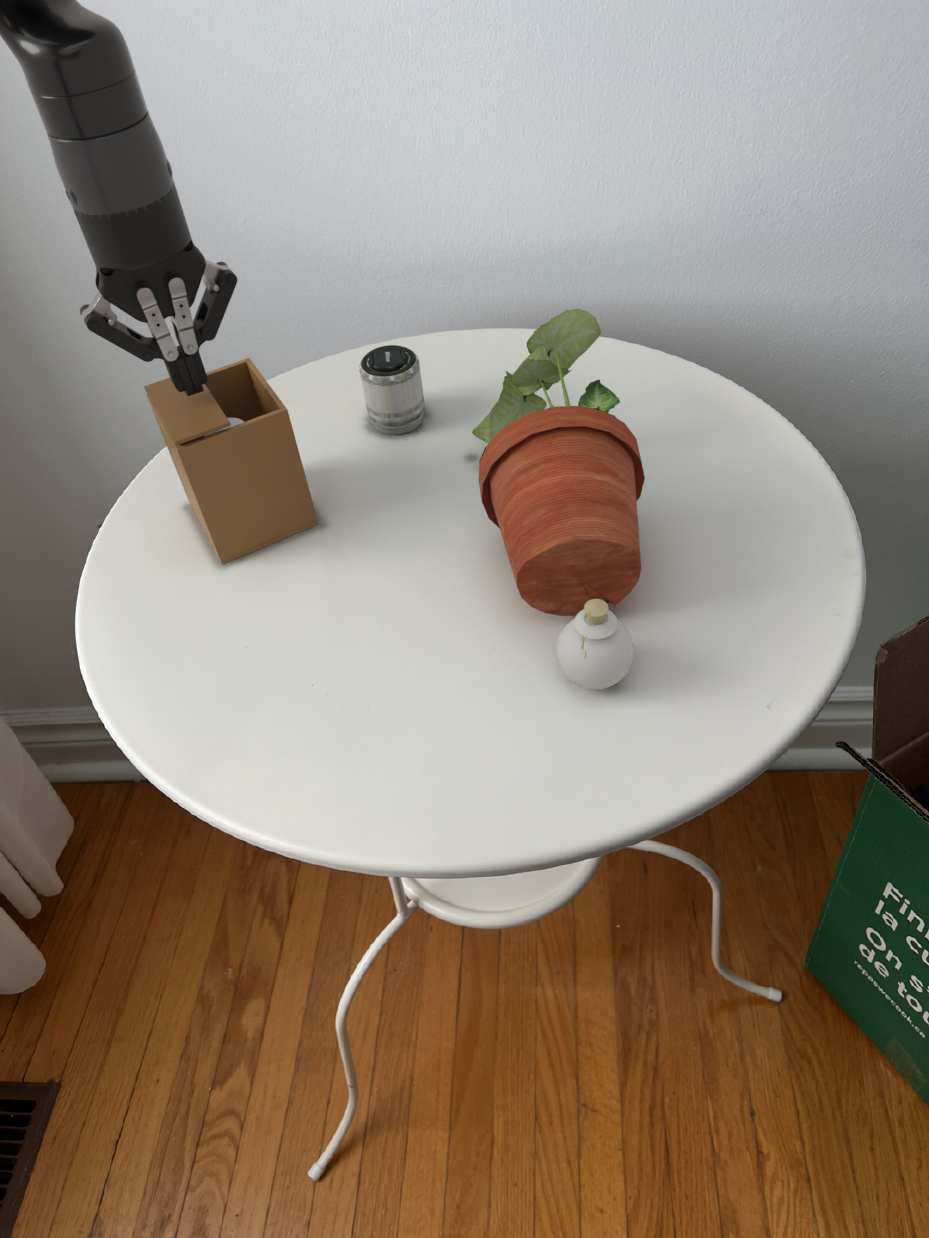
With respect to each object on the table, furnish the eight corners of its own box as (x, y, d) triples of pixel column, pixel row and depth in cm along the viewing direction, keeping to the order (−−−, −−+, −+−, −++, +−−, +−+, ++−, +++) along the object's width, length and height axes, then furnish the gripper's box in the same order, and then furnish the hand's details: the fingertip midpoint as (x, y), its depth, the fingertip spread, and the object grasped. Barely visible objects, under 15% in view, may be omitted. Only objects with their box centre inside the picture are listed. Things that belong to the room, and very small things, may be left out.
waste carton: (222, 564, 87) (177, 450, 77) (191, 506, 93) (145, 393, 83) (318, 524, 90) (287, 409, 80) (282, 471, 96) (249, 357, 86)
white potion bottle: (640, 656, 75) (647, 570, 68) (615, 726, 71) (621, 643, 64) (569, 639, 77) (569, 553, 70) (541, 707, 73) (538, 623, 65)
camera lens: (372, 441, 98) (359, 377, 92) (367, 407, 102) (355, 345, 96) (430, 432, 98) (421, 368, 92) (423, 398, 102) (414, 335, 97)
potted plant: (668, 631, 79) (604, 374, 100) (676, 509, 67) (602, 246, 88) (488, 655, 80) (463, 395, 101) (465, 539, 68) (441, 272, 89)
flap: (176, 445, 77) (174, 442, 76) (145, 390, 83) (143, 386, 83) (231, 425, 78) (229, 422, 78) (196, 372, 84) (195, 368, 84)
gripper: (192, 147, 71) (250, 346, 84) (20, 195, 67) (108, 395, 80) (223, 178, 66) (279, 384, 79) (40, 232, 63) (129, 438, 76)
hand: (192, 389), depth 80 cm, fingers closed
